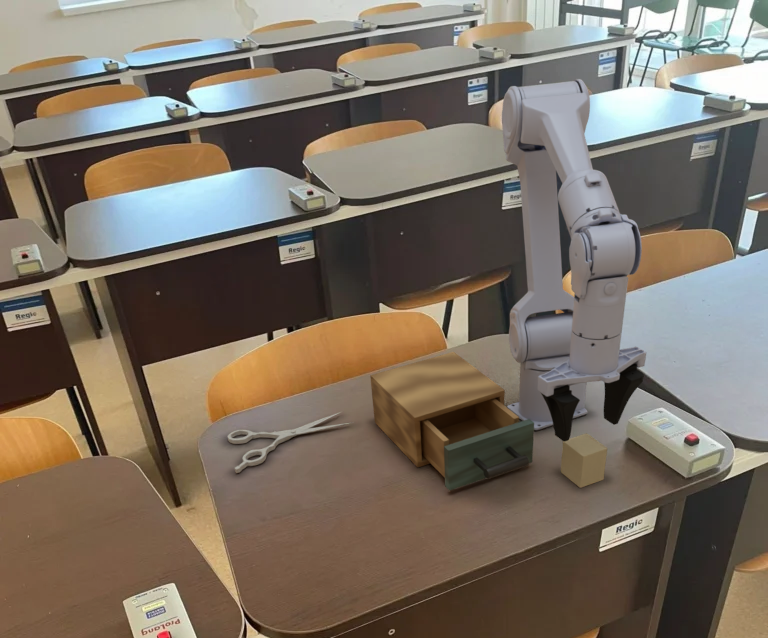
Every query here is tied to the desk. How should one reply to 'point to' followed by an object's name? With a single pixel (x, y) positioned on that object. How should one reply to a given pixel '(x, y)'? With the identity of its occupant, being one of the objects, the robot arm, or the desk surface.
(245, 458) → the scissors
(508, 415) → the drawer
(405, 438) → the cabinet
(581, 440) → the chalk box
